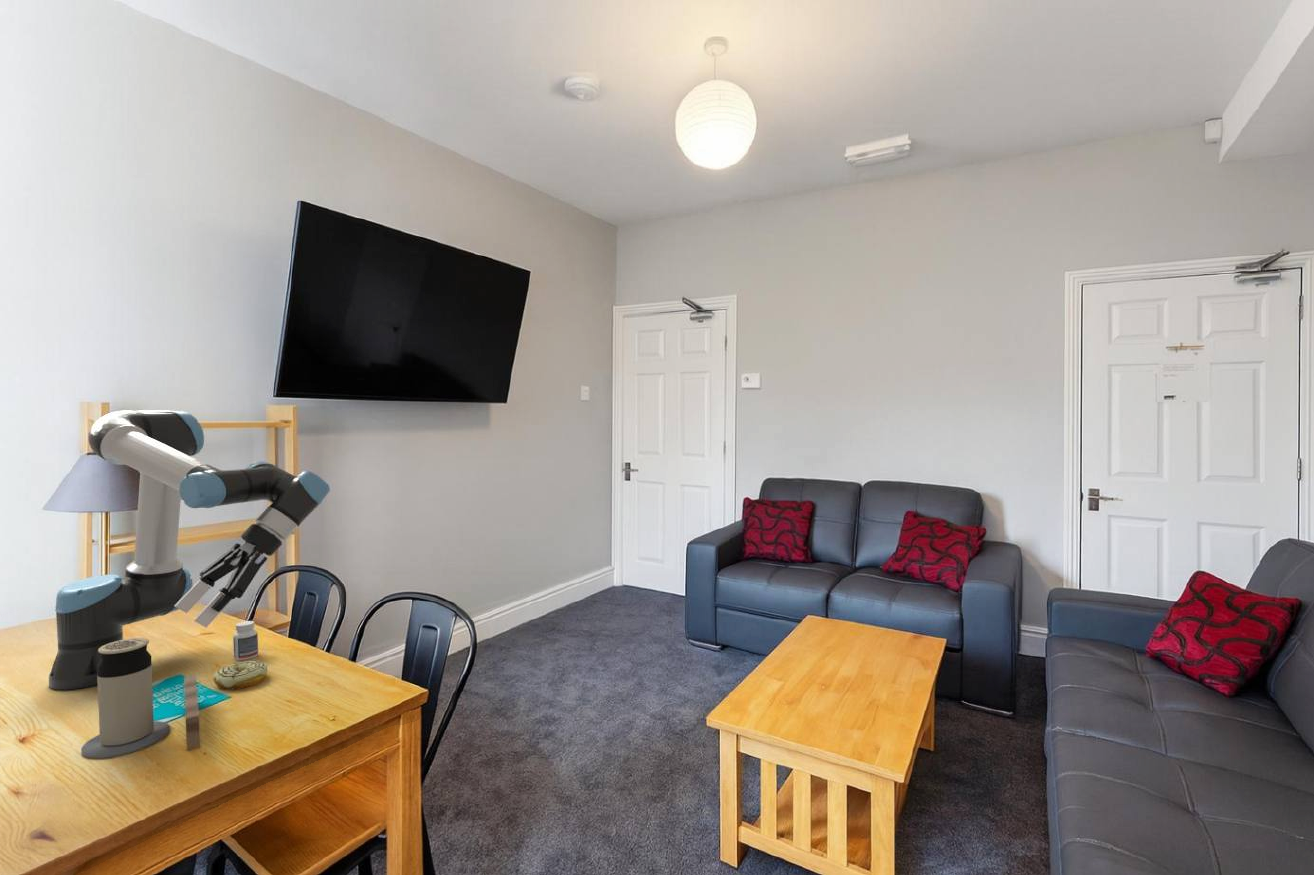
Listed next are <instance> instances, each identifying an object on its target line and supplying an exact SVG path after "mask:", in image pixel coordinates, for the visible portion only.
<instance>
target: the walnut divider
mask: <svg viewBox="0 0 1314 875" xmlns="http://www.w3.org/2000/svg"><path fill="white" fill-rule="evenodd" d="M183 686H184V687H183V688H184V710H185V740H186V742H185V743H186V751H191V750H195V749H199V748H200V747H201V740H200V739H201V738H200V735H201V733H200V711H199V700H198V689H197V688H198V687H197V677H196V674H193V675H191V676H190V675H189V676H185V677H183Z"/></svg>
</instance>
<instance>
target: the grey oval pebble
mask: <svg viewBox="0 0 1314 875" xmlns="http://www.w3.org/2000/svg"><path fill="white" fill-rule="evenodd" d="M169 731H171V726H170V724H169V723H168V722H165V721H161V720H154V730H153V731H152V732H151V733H150V734H148V735H147V736H145V737H144V738H142V739H139V740H137V741H134V742H131V743H128V744H123V745H118V746H107V745H102V744H101V743H100V734H98V735H96V736H94V737H92V738H90V739H89V740H87V741H86V742H85V743H84V744H83V745H82V746H81V749H80V751H81V755H82V757H84V758H87V759H95V760H96V759H97V760H102V759H110V758H116V757H121V756H125V755H129V754H133V753H135V752H138V751H141V750H143V749H144V750H145V749H146V748H148V747H151V746H153V745H155V744H157V743H159V742H160V741H162V740H164V739H165V738H166V737H168V735H169V734H168V733H170V732H169Z"/></svg>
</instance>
